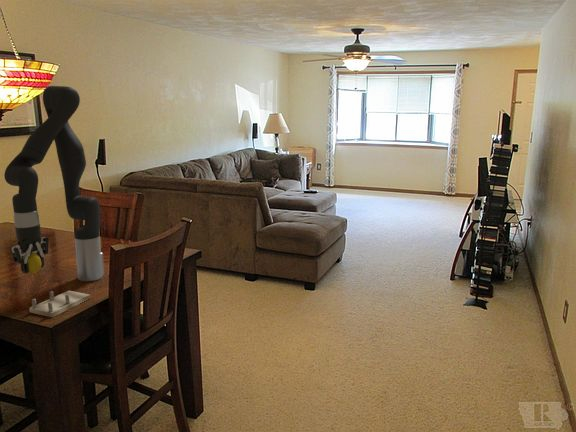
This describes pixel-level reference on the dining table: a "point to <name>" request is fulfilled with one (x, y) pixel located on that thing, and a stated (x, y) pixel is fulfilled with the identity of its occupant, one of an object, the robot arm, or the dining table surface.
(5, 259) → the dining table surface
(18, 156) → the robot arm
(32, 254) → the lemon
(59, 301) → the peg board
